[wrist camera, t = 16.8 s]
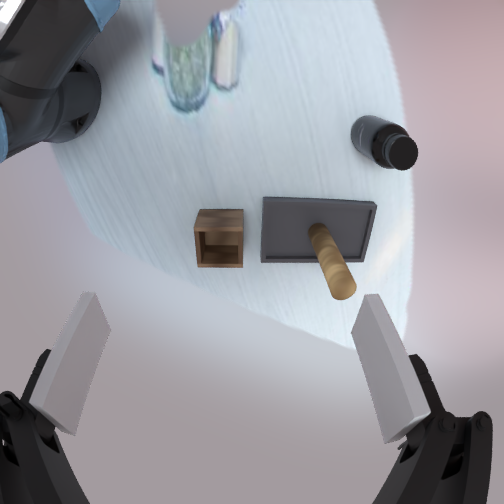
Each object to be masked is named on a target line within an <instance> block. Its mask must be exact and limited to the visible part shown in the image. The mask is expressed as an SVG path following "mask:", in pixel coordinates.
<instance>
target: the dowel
mask: <svg viewBox="0 0 504 504" xmlns="http://www.w3.org/2000/svg"><path fill="white" fill-rule="evenodd" d="M308 236H309V238H310V241H311V243H312V246H313V248H314V251H315V253H316V256H317V258H318V261H319V263H320V266H321V268H322V271H323V273H324V276H325V279H326V281H327V284H328V287H329V289H330V292H331V295H332V297H333V298H335V299H337V300H344V299H347V298H349V297H351V296H352V295H353V294H354V293H355V291H356V288H357V286H356V283H355V281H354V279H353V277H352V275H351V273H350V271H349V269H348V267H347V265H346V263H345V261H344V259H343V257H342V255H341V253H340V251H339V249H338V248H337V246H336V244H335V242H334V240H333V238H332V236H331V234H330V233H329V231H328V229H327V227H326V226H325V225H324V224H322V223H315V224H313V225H312V226H311V227H310V228H309V230H308Z"/></svg>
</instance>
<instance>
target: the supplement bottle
mask: <svg viewBox="0 0 504 504" xmlns="http://www.w3.org/2000/svg"><path fill="white" fill-rule="evenodd" d="M351 138H352V142H353V144H354V146H355V147H356V148H357V149H358V150H359V151H360V152H361V153H363V154H364V155H365V156H367V157H368V158H370V159H371V160H372V161H374V162H375V163H376V164H378V165H379V166H381V167H383V168H386V169H397V170H401V171H402V170H407V169H410V168H411V167H412V166H413V165H414V164H415V162H416V160H417V157H418V148H417V145H416V143H415V142H414V140H412V139H411V138H410V137H409V135H408V133H407V132H406V130H405V129H404V128H402V127H401V126H399V125H397V124H395V123H392V122H390V121H387V120H384V119H382V118H379V117H376V116H370V115H368V116H364V117H361V118H360V119H358V120H357V121H356V122H355V124H354V125H353V128H352V132H351Z"/></svg>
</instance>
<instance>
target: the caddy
mask: <svg viewBox="0 0 504 504" xmlns="http://www.w3.org/2000/svg"><path fill="white" fill-rule="evenodd" d="M194 236H195V246H196V256H197V265H198V267H219V268H243V209H200V210H199V213H198V216H197V219H196V222H195V225H194Z"/></svg>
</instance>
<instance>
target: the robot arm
mask: <svg viewBox="0 0 504 504" xmlns="http://www.w3.org/2000/svg"><path fill="white" fill-rule="evenodd" d="M119 6H120V0H0V163H2V162H3V161H4V160H5V159H7V158H9V157H11V156H13V155H15V154H16V153H19V152H21V151H22V150H24V149H26V148H28V147H30V146H32V145H35V144H37V143H39V142H41V141H43V142H53V143H61V142H66V141H69V140H71V139H73V138H76V137H77V136H79V135H81V134H82V133H83V132H84V131H85V130H86V129H87V128H88V127H89V126H90V125H91V123H92V122H93V120H94V118H95V116H96V114H97V111H98V108H99V105H100V99H101V86H100V81H99V78H98V75H97V73H96V71H95V70H94V68H93V67H92V66H91V65H90V64H89V63H87V62H86V61H84V60H81V59H78V58H79V57H80V56H81V54H82V53H83V52H84V50H85V49H86V48H87V46H88V45H89V44H90V42H91V41H92V40H93V39H94V37H95V36H96V35H97V34H98V33H99V32H102V30H103V27H104V26H105V24H106V23H107V22H108V21H109V19H110V18H111V17H112V16H113V15H114V14H115V12H116V11H117V10H118V8H119ZM110 331H111V329H110V326H109V324H108V322H107V320H106V318H105V315H104V313H103V310H102V308H101V306H100V303H99V301H98V298H97V296H96V293H95V292H83V293H82V294H81V296H80V298H79V300H78V301H77V303H76V305H75V307H74V308H73V310H72V312H71V314H70V315H69V317H68V319H67V321H66V323H65V325H64V327H63V329H62V330H61V332H60V334H59V336H58V338H57V340H56V342H55V344H54V347H53V348H52V350H49V349H46V350H45V351H44V352H43V354H41V356H40V357H39V359H38V361H37V363H36V367H35V368H34V370H33V372H32V374H31V377H30V379H29V381H28V383H27V385H26V388H25V390H24V393H23V395H22V397H21V399H20V400H19V399H18V398H17V397H16V396H15V395H14V394H13V393H12V392H10V391H5V392H2V393H1V394H0V504H90V503H89V502H88V500H87V498H86V496H85V495H84V492H83V491H82V489H81V487H80V485H79V483H78V481H77V479H76V477H75V475H74V473H73V471H72V469H71V467H70V464H69V462H68V460H67V458H66V456H65V453H64V451H63V448H62V446H61V444H60V441H59V438H58V436H57V434H56V432H55V431H54V430H55V426H56V427H57V428H58V429H59V430H61V431H62V432H65V433H68V434H70V435H73V436H75V434H76V431H77V427H78V424H79V420H80V417H81V413H82V410H83V406H84V403H85V400H86V397H87V394H88V391H89V388H90V385H91V382H92V379H93V376H94V374H95V371H96V368H97V365H98V362H99V360H100V357H101V354H102V352H103V349H104V346H105V344H106V341H107V339H108V336H109V334H110ZM351 334H352V337H353V340H354V343H355V346H356V349H357V352H358V355H359V358H360V361H361V364H362V367H363V370H364V373H365V377H366V380H367V383H368V386H369V390H370V393H371V396H372V400H373V403H374V407H375V410H376V414H377V418H378V421H379V424H380V428H381V432H382V436H383V440H384V443H385V444H386V443H390V442H394V441H397V440H400V439H401V438H402V437H404V436H405V435H406V437H407V440H406V441H405V442H404V443H402V444H401V445H400V446H399V447H398V450H400V449H401V448H402V447H403V448H402V450H401V452H400V455H399V457H398V459H397V461H396V463H395V465H394V467H393V468H392V470H391V472H390V474H389V476H388V478H387V480H386V482H385V483H384V485H383V487H382V488H381V490H380V492H379V494H378V495H377V497H376V499H375V500H374V502H373V503H372V504H486V502H487V496H488V489H489V481H490V472H491V461H492V435H493V434H492V432H493V427H492V426H493V425H492V420H491V417H490V416H489V415H488V414H487V413H486V412H483V411H479V412H477V413H476V414H474V415H473V416H472V417H455V416H454V415H453V414H451V413H450V412H446V411H445V409H444V407H443V405H442V403H441V400H440V398H439V395H438V393H437V390H436V388H435V385H434V383H433V381H432V379H431V376H430V374H429V373H428V369H427V367H426V365H425V363H424V361H423V360H422V359H421V358H420V357H419V356H418V355H417V354H414V355H409V356H408V355H407V352H406V350H405V347H404V345H403V343H402V341H401V339H400V336H399V334H398V332H397V330H396V328H395V326H394V324H393V322H392V320H391V318H390V316H389V314H388V312H387V310H386V308H385V306H384V304H383V302H382V300H381V298H380V296H379V294H369V295H365V296H364V299H363V302H362V305H361V307H360V310H359V313H358V316H357V318H356V321H355V324H354V326H353V329H352V332H351ZM2 439H3V440H4V445H3V443H2Z"/></svg>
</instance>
